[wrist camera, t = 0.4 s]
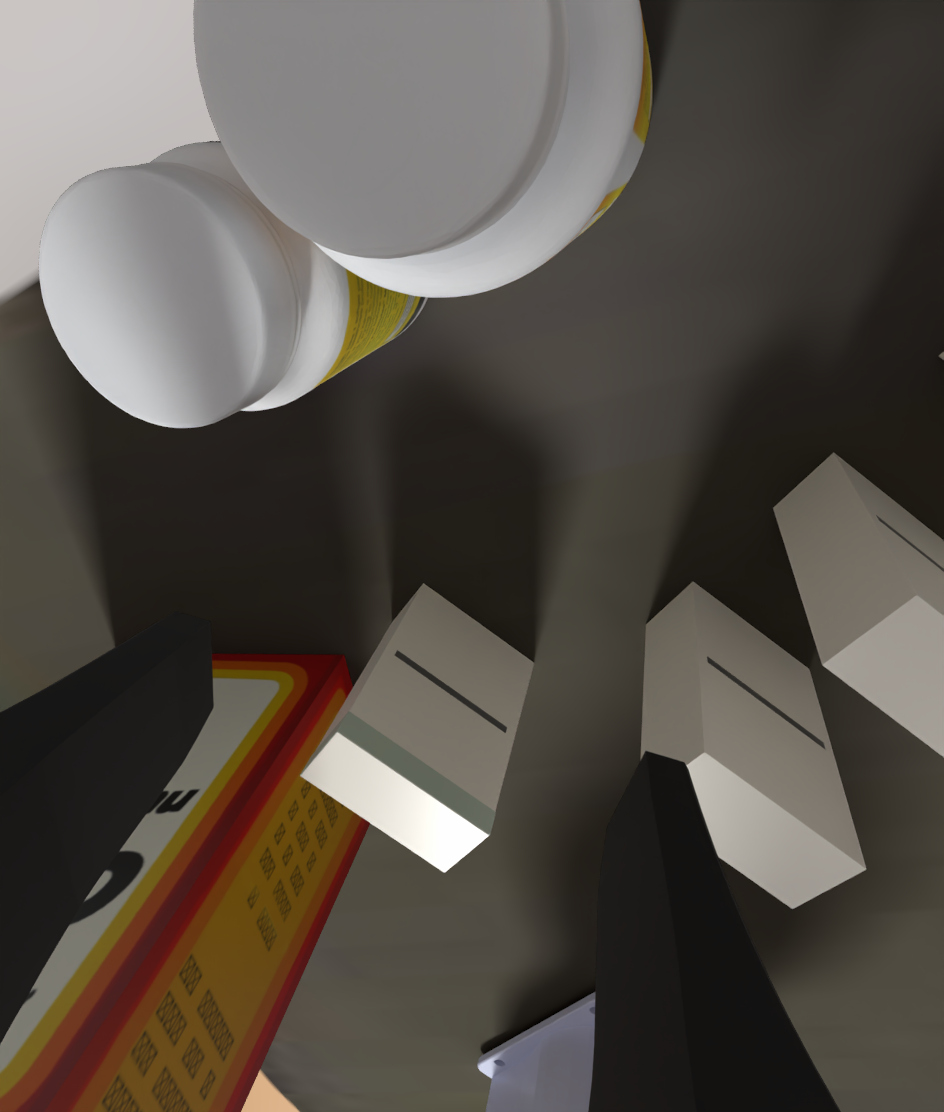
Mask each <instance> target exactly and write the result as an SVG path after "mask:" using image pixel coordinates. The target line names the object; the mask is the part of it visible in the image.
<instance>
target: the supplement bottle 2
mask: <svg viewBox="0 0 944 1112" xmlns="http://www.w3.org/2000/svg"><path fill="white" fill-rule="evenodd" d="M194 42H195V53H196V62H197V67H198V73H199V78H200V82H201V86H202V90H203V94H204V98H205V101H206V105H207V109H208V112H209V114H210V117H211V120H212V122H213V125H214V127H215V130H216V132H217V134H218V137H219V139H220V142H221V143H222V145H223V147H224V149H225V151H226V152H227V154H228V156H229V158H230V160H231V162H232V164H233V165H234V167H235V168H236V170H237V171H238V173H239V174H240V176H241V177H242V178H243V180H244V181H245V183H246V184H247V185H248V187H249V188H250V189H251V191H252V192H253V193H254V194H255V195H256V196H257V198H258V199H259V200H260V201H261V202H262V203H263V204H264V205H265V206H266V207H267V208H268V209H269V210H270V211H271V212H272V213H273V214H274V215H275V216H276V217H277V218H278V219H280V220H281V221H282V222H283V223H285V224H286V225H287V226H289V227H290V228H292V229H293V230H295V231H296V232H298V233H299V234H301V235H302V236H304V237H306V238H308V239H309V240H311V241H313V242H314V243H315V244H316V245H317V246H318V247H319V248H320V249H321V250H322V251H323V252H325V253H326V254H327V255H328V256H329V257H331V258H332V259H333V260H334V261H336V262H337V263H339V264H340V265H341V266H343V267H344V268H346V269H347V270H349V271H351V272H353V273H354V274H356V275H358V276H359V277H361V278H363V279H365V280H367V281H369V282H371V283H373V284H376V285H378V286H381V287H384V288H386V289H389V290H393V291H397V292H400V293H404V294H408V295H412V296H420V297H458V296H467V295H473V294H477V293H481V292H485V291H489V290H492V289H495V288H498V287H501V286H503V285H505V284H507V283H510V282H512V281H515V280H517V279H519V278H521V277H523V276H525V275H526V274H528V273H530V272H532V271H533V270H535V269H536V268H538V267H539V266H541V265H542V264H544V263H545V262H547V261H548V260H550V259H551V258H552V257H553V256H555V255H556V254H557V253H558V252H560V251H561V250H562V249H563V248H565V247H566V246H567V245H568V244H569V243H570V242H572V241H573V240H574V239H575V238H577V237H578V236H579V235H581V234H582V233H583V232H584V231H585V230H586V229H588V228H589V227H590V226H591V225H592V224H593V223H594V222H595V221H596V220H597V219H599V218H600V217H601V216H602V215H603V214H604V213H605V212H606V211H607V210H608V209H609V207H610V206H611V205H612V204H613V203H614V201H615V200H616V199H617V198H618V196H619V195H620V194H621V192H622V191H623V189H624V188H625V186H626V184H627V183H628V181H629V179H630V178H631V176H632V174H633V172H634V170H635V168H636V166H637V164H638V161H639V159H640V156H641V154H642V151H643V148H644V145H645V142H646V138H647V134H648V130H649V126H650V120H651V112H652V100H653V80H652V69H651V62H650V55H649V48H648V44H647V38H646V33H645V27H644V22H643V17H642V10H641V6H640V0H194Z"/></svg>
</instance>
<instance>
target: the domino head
mask: <svg viewBox="0 0 944 1112" xmlns="http://www.w3.org/2000/svg"><path fill="white" fill-rule="evenodd" d="M533 665H534V662H532V661H531V660H530V659H528V658H527V657H525V656H524V655H523V654H521V653H520V652H518V651H517V650H516V649H514V648H513V647H512V646H510V645H509V644H507V643H506V642H505V641H503V640H502V639H500V638H499V637H498V636H496V635H495V634H493V633H492V632H491V631H489V630H488V629H487V628H485V627H484V626H482V625H481V624H480V623H478V622H477V621H475V620H474V619H473V618H471V617H470V616H468V615H467V614H466V613H464V612H463V611H461V610H460V609H459V608H457V607H456V606H455V605H453V604H452V603H450V602H449V601H448V600H446V599H445V598H443V597H442V596H441V595H439V594H438V593H436V592H435V591H434V590H432V589H431V588H430V587H428V586H427V585H425V584H424V583H423V584H422V585H421V587H420V588H419V589H418V590H417V592H416V593H415V594H414V595H413V597H412V598H411V599H410V600H409V602H408V603H407V604H406V605H405V607H404V608H403V609H402V610H401V612H400V613H399V614H398V615H397V617H396V618H395V619H394V620H393V622H392V623H391V625H390V627H389V628H388V630H387V632H386V633H385V635H384V637H383V638H382V640H381V642H380V643H379V645H378V647H377V648H376V650H375V652H374V653H373V655H372V657H371V658H370V660H369V662H368V663H367V665H366V667H365V668H364V670H363V672H362V674H361V675H360V677H359V679H358V680H357V682H356V684H355V685H354V687H353V689H352V690H351V692H350V694H349V695H348V697H347V699H346V700H345V702H344V704H343V705H342V707H341V709H340V710H339V712H338V714H337V715H336V717H335V719H334V720H333V722H332V724H331V726H330V727H329V729H328V731H327V732H326V734H325V736H324V737H323V739H322V741H321V742H320V744H319V746H318V747H317V749H316V751H315V752H314V753H313V754H312V756H311V757H310V759H309V761H308V762H307V764H306V766H305V767H304V769H303V771H302V772H301V774H300V776H301V777H303V778H304V779H306V780H307V781H309V782H310V783H311V784H313V785H314V786H316V787H317V788H319V789H320V790H322V791H323V792H325V793H326V794H328V795H329V796H331V797H332V798H334V799H335V800H337V801H338V802H340V803H341V804H343V805H344V806H346V807H347V808H349V809H350V810H352V811H353V812H355V813H356V814H358V815H359V816H361V817H362V818H364V819H365V820H367V821H368V822H370V823H371V824H373V825H374V826H376V827H377V828H379V829H380V830H382V831H383V832H385V833H386V834H387V835H389V836H390V837H392V838H393V839H395V840H396V841H398V842H399V843H401V844H402V845H404V846H405V847H407V848H408V849H410V850H411V851H413V852H414V853H416V854H417V855H419V856H420V857H422V858H423V859H425V860H426V861H428V862H429V863H431V864H432V865H434V866H435V867H437V868H438V869H440V870H441V871H443V872H446V871H447V870H448V869H450V868H451V867H452V866H453V865H454V864H456V863H457V862H458V861H459V860H460V859H462V858H463V857H464V856H465V855H466V854H468V853H469V852H470V851H471V850H472V849H474V848H475V847H476V846H477V845H478V844H480V843H481V842H482V841H483V840H484V839H486V838H487V837H488V836H489V835H490V833H491V830H492V826H493V822H494V818H495V814H496V812H495V810H496V806H497V802H498V799H499V795H500V791H501V787H502V783H503V780H504V776H505V772H506V768H507V764H508V760H509V757H510V753H511V749H512V745H513V741H514V738H515V734H516V730H517V726H518V722H519V719H520V715H521V711H522V707H523V703H524V700H525V696H526V692H527V688H528V684H529V681H530V677H531V673H532V669H533Z"/></svg>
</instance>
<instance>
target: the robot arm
mask: <svg viewBox="0 0 944 1112" xmlns="http://www.w3.org/2000/svg"><path fill="white" fill-rule="evenodd" d="M213 708H214V700H213V670H212V640H211V622H210V621H207V620H204V619H200V618H197V617H194V616H190V615H187V614H183V613H180V612H177V611H176V612H174V613H172V614H170V615H168V616H167V617H165V618H163V619H162V620H160V621H158V622H156V623H155V624H153V625H151V626H150V627H148V628H146V629H145V630H143V631H141V632H140V633H138V634H137V635H135V636H133V637H132V638H130V639H128V640H127V641H125V642H123V643H122V644H120V645H118V646H117V647H115V648H113V649H112V650H110V651H108V652H107V653H105V654H103V655H102V656H100V657H98V658H97V659H95V660H93V661H92V662H90V663H88V664H87V665H85V666H83V667H81V668H80V669H78V670H76V671H75V672H73V673H71V674H69V675H68V676H66V677H64V678H62V679H61V680H59V681H57V682H55V683H54V684H52V685H50V686H49V687H47V688H45V689H43V690H41V691H40V692H38V693H36V694H34V695H32V696H30V697H29V698H27V699H25V700H23V701H21V702H19V703H17V704H15V705H13V706H12V707H10V708H8V709H6V710H4V711H2V712H0V1044H1V1042H2V1041H3V1039H4V1037H5V1035H6V1033H7V1031H8V1030H9V1028H10V1026H11V1024H12V1023H13V1021H14V1019H15V1017H16V1016H17V1014H18V1012H19V1010H20V1009H21V1007H22V1005H23V1003H24V1002H25V1000H26V998H27V996H28V995H29V993H30V991H31V989H32V987H33V986H34V984H35V982H36V980H37V979H38V977H39V975H40V973H41V972H42V970H43V968H44V967H45V965H46V963H47V962H48V960H49V958H50V956H51V955H52V953H53V951H54V950H55V948H56V946H57V945H58V943H59V941H60V940H61V938H62V936H63V935H64V933H65V931H66V930H67V928H68V926H69V925H70V923H71V921H72V920H73V918H74V916H75V915H76V913H77V911H78V910H79V908H80V906H81V905H82V904H83V902H84V901H85V899H86V898H87V896H88V895H89V893H90V892H91V890H92V889H93V887H94V886H95V884H96V883H97V881H98V880H99V878H100V877H101V876H102V874H103V873H104V872H105V870H106V869H107V867H108V866H109V865H110V863H111V862H112V861H113V859H114V858H115V856H116V855H117V854H118V852H119V851H120V850H121V848H122V847H123V845H124V844H125V843H126V841H127V840H128V839H129V837H130V836H131V834H132V833H133V832H134V830H135V829H136V828H137V826H138V825H139V823H140V822H141V821H142V819H143V818H144V817H145V815H146V814H147V812H148V811H149V810H150V808H151V807H152V806H153V804H154V803H155V801H156V800H157V799H158V797H159V796H160V794H161V793H162V792H163V790H164V789H165V787H166V786H167V785H168V783H169V782H170V781H171V779H172V778H173V776H174V775H175V773H176V772H177V771H178V769H179V768H180V766H181V765H182V764H183V762H184V760H185V759H186V757H187V755H188V753H189V752H190V750H191V748H192V746H193V745H194V743H195V741H196V739H197V738H198V736H199V734H200V732H201V730H202V728H203V726H204V725H205V723H206V721H207V719H208V717H209V715H210V713H211V712H212V710H213ZM478 1068H479V1070H480V1071H481V1072H482V1073H484V1074H485V1075H487V1076H489V1077H490V1078H492V1082H491V1087H490V1092H489V1097H488V1103H487V1108H486V1112H841V1111H840V1110H839V1108H838V1106H837V1104H836V1103H835V1101H834V1099H833V1097H832V1096H831V1094H830V1092H829V1090H828V1088H827V1087H826V1085H825V1083H824V1081H823V1080H822V1078H821V1076H820V1074H819V1073H818V1071H817V1069H816V1067H815V1065H814V1064H813V1062H812V1060H811V1058H810V1056H809V1054H808V1053H807V1051H806V1049H805V1047H804V1045H803V1043H802V1041H801V1039H800V1037H799V1036H798V1034H797V1032H796V1030H795V1028H794V1026H793V1024H792V1022H791V1020H790V1018H789V1016H788V1014H787V1012H786V1010H785V1009H784V1007H783V1005H782V1003H781V1001H780V998H779V996H778V994H777V992H776V990H775V988H774V986H773V984H772V982H771V980H770V978H769V976H768V973H767V971H766V969H765V967H764V965H763V963H762V960H761V958H760V956H759V954H758V952H757V950H756V947H755V945H754V943H753V941H752V938H751V936H750V934H749V932H748V929H747V927H746V925H745V922H744V920H743V918H742V915H741V913H740V910H739V908H738V905H737V903H736V900H735V898H734V896H733V893H732V891H731V888H730V886H729V883H728V881H727V878H726V876H725V873H724V871H723V868H722V865H721V863H720V860H719V858H718V855H717V852H716V850H715V847H714V844H713V841H712V838H711V836H710V833H709V830H708V827H707V824H706V822H705V819H704V816H703V813H702V810H701V807H700V804H699V801H698V798H697V795H696V792H695V789H694V785H693V782H692V779H691V776H690V773H689V769H688V768H687V766H686V764H685V762H682V761H679V760H676V759H672V758H669V757H666V756H662V755H659V754H655V753H652V752H649V751H645V753H644V755H643V757H642V759H641V761H640V763H639V765H638V767H637V769H636V771H635V773H634V775H633V777H632V779H631V781H630V783H629V785H628V786H627V788H626V790H625V792H624V794H623V796H622V798H621V800H620V802H619V804H618V806H617V808H616V810H615V812H614V814H613V816H612V818H611V820H610V822H609V824H608V826H607V830H606V837H605V844H604V851H603V858H602V865H601V873H600V880H599V888H598V908H597V944H596V987H595V992H594V993H592V994H590V995H588V996H587V997H585V998H583V999H581V1000H579V1001H578V1002H576V1003H574V1004H572V1005H571V1006H569V1007H567V1008H565V1009H563V1010H562V1011H560V1012H558V1013H556V1014H555V1015H553V1016H551V1017H549V1018H548V1019H546V1020H544V1021H542V1022H540V1023H539V1024H537V1025H535V1026H533V1027H532V1028H530V1029H528V1030H526V1031H525V1032H523V1033H521V1034H519V1035H517V1036H516V1037H514V1038H512V1039H510V1040H509V1041H507V1042H505V1043H503V1044H501V1045H500V1046H498V1047H496V1048H494V1049H493V1050H491V1051H489V1052H487V1053H486V1054H484V1055H482V1056H480V1057H479V1061H478Z"/></svg>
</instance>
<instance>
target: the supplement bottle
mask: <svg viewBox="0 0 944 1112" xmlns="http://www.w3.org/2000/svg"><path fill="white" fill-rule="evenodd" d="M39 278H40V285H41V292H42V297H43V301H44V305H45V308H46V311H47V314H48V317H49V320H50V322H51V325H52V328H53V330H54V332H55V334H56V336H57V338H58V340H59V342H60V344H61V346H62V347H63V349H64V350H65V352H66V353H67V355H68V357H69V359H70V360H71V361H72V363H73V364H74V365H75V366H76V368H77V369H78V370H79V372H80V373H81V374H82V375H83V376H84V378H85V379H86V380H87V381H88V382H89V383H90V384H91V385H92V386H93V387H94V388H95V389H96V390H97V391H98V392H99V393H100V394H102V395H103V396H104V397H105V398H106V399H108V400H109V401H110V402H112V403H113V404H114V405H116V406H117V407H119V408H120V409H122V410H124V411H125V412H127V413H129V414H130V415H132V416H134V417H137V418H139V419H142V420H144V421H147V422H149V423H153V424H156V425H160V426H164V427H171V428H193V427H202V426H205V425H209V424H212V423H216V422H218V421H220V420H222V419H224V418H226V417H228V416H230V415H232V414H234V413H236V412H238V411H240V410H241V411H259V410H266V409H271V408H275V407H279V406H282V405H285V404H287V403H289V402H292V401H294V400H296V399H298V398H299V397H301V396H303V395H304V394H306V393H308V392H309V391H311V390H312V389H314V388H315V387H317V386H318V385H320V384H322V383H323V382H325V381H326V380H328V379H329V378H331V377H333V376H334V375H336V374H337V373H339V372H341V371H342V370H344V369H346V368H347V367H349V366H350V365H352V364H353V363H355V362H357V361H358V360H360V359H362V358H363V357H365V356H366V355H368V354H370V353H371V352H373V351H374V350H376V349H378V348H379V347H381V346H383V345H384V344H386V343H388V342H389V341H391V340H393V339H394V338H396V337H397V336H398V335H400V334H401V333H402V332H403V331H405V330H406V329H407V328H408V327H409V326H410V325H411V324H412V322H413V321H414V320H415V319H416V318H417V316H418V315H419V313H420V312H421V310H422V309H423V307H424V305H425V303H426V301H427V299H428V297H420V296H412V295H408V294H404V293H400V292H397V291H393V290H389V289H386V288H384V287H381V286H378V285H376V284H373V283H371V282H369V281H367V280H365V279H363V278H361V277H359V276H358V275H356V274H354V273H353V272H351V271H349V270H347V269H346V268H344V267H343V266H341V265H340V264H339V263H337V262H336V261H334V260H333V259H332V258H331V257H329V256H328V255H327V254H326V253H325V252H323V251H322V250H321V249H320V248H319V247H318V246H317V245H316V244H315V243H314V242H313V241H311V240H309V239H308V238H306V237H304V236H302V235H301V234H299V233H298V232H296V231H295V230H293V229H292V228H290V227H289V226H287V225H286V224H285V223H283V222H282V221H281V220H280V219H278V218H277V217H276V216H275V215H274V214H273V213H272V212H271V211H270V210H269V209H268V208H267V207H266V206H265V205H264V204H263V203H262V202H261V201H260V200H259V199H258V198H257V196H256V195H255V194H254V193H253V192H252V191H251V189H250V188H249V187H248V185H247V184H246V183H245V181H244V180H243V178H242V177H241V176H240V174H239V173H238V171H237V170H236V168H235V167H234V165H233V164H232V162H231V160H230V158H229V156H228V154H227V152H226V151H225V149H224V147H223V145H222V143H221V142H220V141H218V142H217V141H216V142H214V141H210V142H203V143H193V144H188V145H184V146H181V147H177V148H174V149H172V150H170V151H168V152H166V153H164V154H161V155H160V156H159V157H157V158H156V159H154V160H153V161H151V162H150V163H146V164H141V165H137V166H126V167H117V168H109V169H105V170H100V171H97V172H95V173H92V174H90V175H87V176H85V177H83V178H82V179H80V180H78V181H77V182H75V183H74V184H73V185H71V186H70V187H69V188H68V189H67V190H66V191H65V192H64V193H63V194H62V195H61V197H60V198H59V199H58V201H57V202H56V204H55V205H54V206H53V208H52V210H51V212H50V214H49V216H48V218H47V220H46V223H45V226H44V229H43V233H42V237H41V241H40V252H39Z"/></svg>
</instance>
